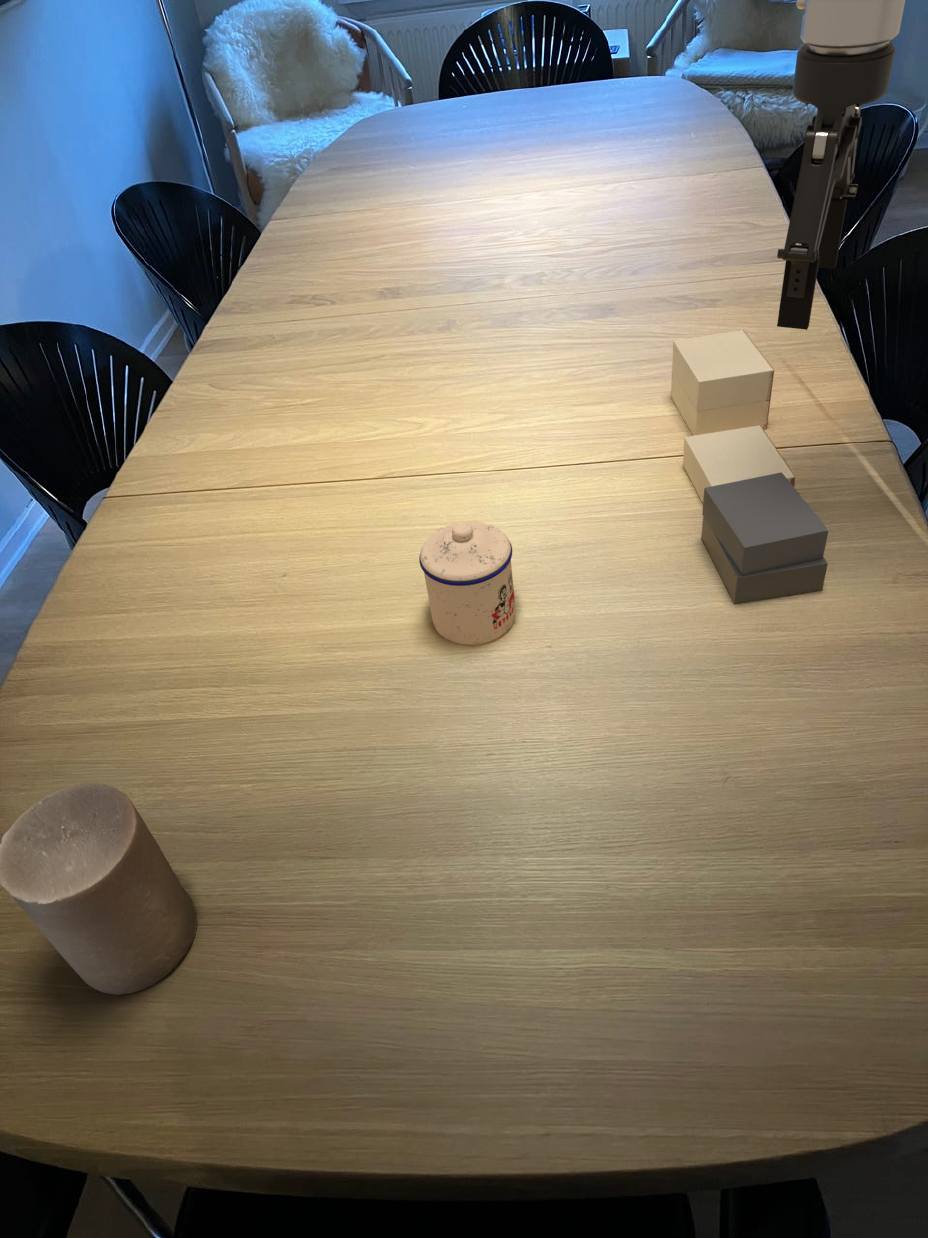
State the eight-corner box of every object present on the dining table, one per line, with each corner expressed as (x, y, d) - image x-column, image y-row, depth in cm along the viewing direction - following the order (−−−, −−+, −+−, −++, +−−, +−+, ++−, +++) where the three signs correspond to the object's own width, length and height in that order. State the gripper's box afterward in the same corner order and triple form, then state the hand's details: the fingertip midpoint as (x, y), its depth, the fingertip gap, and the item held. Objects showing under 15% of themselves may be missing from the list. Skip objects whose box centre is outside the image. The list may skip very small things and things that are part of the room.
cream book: (757, 453, 111) (760, 424, 108) (791, 506, 103) (796, 476, 100) (682, 465, 111) (684, 436, 108) (710, 519, 103) (713, 489, 100)
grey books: (781, 524, 101) (790, 470, 96) (822, 590, 92) (833, 535, 88) (698, 537, 101) (702, 484, 96) (731, 604, 92) (737, 550, 88)
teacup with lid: (514, 649, 91) (504, 558, 83) (424, 647, 93) (406, 558, 85) (524, 570, 100) (516, 481, 92) (442, 570, 101) (427, 482, 94)
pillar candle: (200, 871, 76) (137, 758, 66) (193, 983, 69) (121, 875, 59) (83, 895, 76) (1, 784, 66) (64, 1010, 69) (-32, 905, 59)
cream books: (737, 385, 123) (743, 329, 117) (767, 428, 115) (774, 369, 109) (670, 396, 123) (673, 340, 117) (694, 439, 115) (698, 381, 109)
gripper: (827, 7, 84) (794, 241, 99) (764, 85, 69) (736, 349, 83) (916, 5, 81) (869, 246, 96) (871, 86, 66) (823, 360, 80)
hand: (807, 295), depth 89 cm, fingers open, 13 cm apart
